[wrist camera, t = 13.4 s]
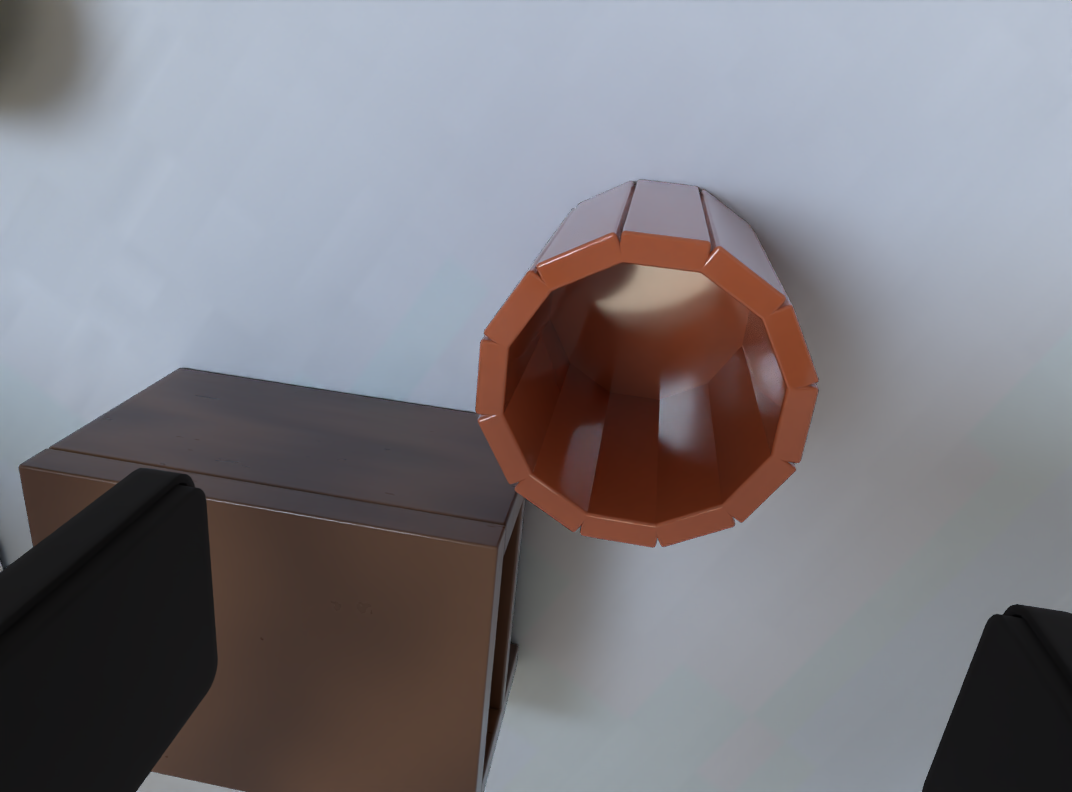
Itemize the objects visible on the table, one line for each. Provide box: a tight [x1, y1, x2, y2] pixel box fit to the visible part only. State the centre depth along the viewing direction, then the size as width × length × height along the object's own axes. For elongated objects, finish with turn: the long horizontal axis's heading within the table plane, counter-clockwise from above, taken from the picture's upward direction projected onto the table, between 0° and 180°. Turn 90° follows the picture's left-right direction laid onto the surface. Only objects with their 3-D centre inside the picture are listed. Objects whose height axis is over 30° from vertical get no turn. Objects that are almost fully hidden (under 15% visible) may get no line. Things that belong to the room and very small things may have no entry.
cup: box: [475, 179, 819, 548], centre depth 19 cm, size 7×7×8 cm
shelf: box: [19, 368, 525, 792], centre depth 24 cm, size 12×10×7 cm
